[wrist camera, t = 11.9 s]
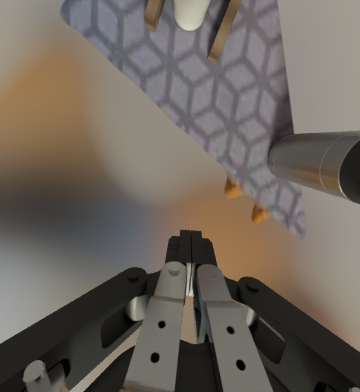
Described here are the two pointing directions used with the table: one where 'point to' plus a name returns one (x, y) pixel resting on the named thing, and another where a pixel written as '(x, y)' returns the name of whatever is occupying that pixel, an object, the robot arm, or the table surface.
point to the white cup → (190, 13)
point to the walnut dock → (154, 13)
